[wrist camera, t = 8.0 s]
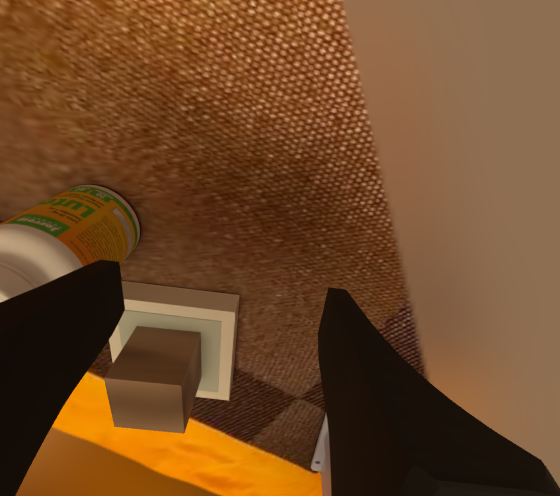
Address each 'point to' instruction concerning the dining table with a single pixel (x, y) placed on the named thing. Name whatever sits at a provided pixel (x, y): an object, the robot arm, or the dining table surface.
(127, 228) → the supplement bottle
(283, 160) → the dining table surface
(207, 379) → the tile base
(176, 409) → the walnut block
